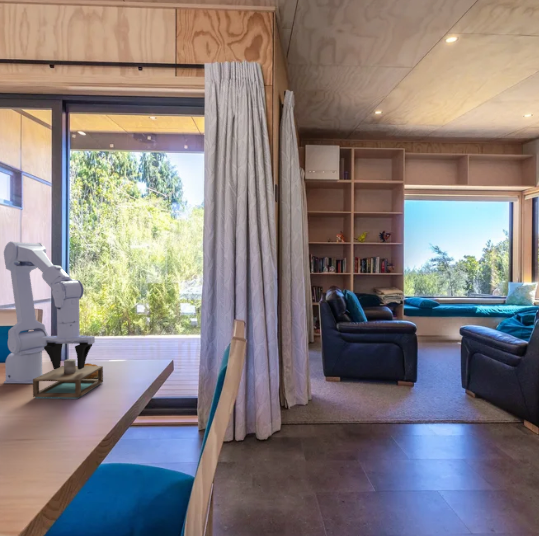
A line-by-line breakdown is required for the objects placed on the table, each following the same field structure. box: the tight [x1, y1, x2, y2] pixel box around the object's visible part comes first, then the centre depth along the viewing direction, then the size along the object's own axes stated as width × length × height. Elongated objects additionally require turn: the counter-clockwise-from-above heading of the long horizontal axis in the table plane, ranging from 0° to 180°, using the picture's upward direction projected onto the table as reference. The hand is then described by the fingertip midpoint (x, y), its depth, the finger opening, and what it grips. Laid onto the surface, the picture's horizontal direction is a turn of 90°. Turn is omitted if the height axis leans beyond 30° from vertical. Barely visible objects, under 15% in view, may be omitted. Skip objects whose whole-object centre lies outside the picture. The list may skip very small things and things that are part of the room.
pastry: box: [84, 362, 98, 379], centre depth 119 cm, size 9×7×4 cm
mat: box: [34, 383, 99, 400], centre depth 106 cm, size 12×12×1 cm
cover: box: [32, 358, 104, 398], centre depth 106 cm, size 13×13×8 cm
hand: (68, 368), depth 106 cm, fingers open, 7 cm apart
